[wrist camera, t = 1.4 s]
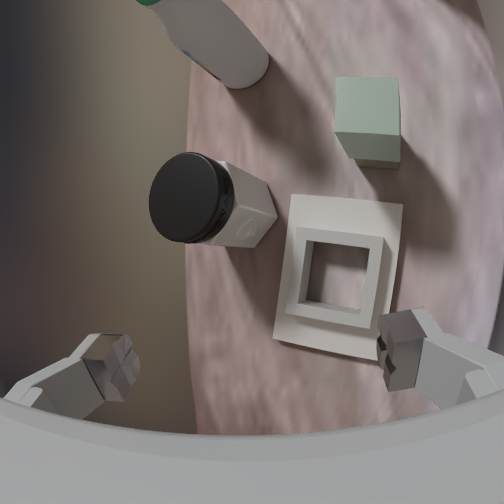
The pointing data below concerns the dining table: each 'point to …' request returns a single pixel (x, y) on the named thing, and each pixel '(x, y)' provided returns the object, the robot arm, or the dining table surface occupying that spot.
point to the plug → (369, 120)
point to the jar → (210, 203)
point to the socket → (299, 264)
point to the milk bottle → (213, 39)
